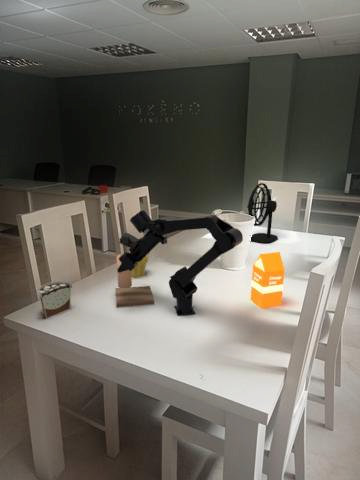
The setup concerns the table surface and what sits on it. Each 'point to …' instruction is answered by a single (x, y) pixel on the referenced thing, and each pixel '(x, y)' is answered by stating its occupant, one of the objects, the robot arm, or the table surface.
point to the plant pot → (139, 268)
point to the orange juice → (267, 280)
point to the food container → (55, 298)
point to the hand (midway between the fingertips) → (120, 269)
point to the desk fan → (269, 207)
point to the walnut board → (134, 296)
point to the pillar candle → (123, 276)
